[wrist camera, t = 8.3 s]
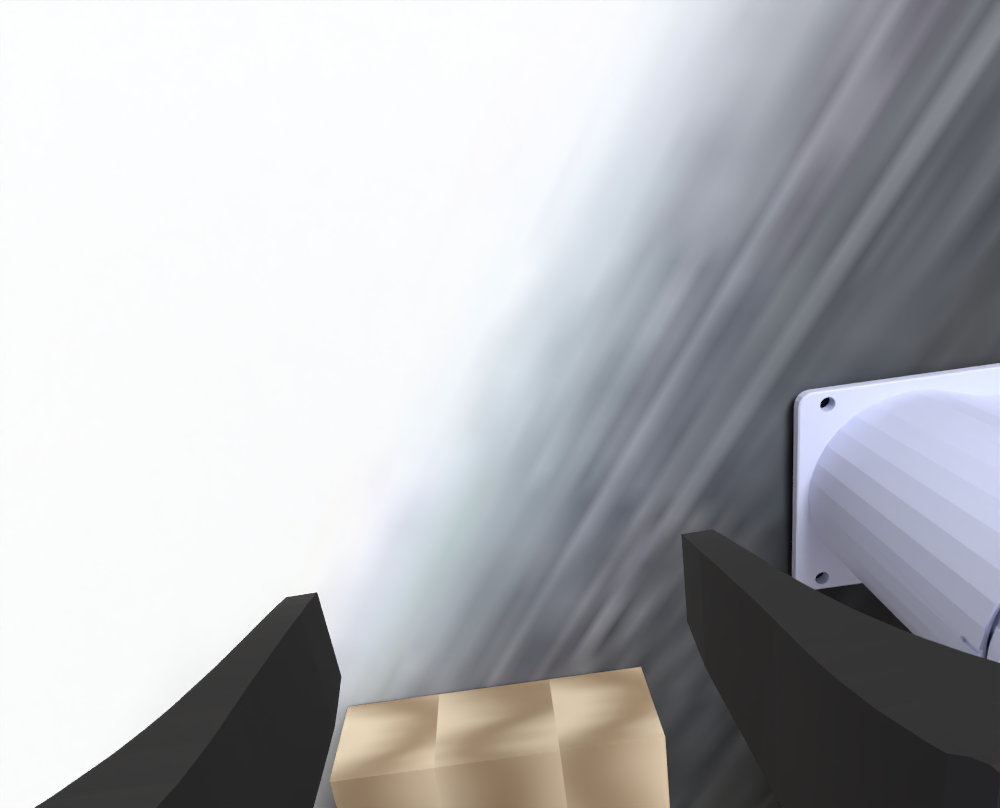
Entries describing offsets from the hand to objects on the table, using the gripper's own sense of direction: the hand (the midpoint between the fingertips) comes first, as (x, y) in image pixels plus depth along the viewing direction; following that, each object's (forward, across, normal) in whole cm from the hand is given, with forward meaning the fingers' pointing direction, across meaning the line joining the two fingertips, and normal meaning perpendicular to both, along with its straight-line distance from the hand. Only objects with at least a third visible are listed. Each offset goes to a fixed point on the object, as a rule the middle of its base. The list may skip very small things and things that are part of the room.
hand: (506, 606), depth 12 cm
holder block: (+10, +2, +17) cm, 20 cm away
